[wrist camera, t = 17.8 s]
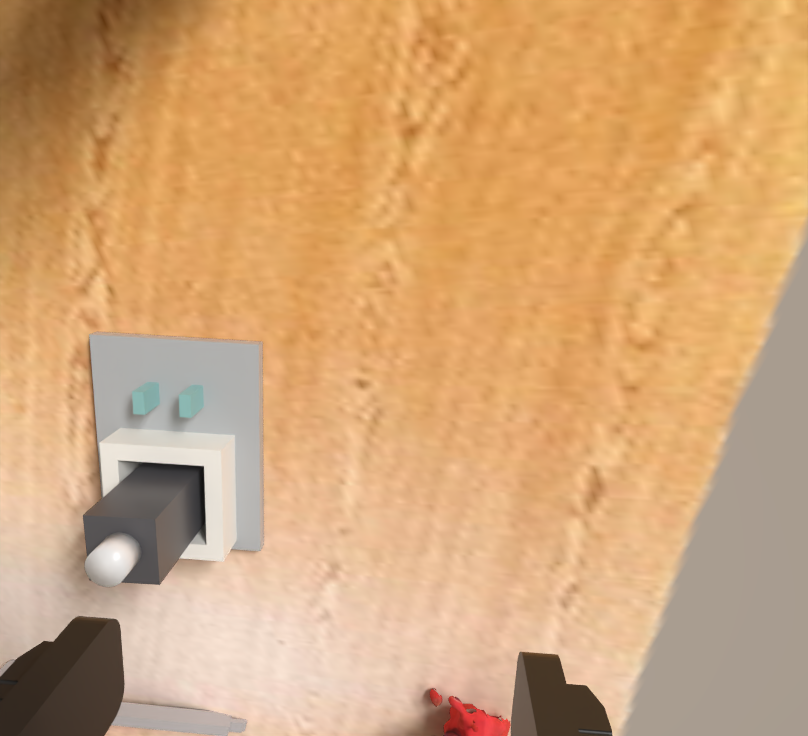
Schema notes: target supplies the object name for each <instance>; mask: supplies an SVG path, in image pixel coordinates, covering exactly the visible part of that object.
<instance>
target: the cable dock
mask: <svg viewBox="0 0 808 736" xmlns="http://www.w3.org/2000/svg"><path fill="white" fill-rule="evenodd" d="M89 338H90V351H91V364H92V377H93V390H94V403H95V416H96V429H97V442H98V455H99V468H100V482H101V495H102V498H103V497H104V496H105V495H107V494H108V493H109V492H110V491H111V490H112V489H113V488H115V487H116V486H117V485H118V484H119V483H120V482H121V481H123V480H124V479H125V478H126V477H127V476H128V475H129V474H131V473H132V472H133V471H134V470H135V469H136V468H137V467H139V466H140V465H141V464H142V463H143V462H151V463H165V464H180V465H195V466H204V481H205V512H206V522H205V524H204V525H203V526H202V528H201V529H200V530H199V532H198V533H197V535H196V536H195V537H194V539H193V540H192V541H191V543H190V544H189V545H188V547H187V548H186V550H185V551H184V552H183V554H182V555H181V556H180V558H182V559H196V560H209V561H223V562H224V560H225V559H226V557H227V555H228V554H229V552H230V550H231V549H237V550H250V551H261V549H262V547H263V545H264V485H263V345H262V342H261V341H244V340H227V339H210V338H194V337H177V336H160V335H143V334H127V333H110V332H95V333H92V334H89Z"/></svg>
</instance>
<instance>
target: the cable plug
mask: <svg viewBox="0 0 808 736" xmlns="http://www.w3.org/2000/svg"><path fill="white" fill-rule="evenodd" d="M83 521H84V530H85V540H86V550H87V558H86V561H85V571H86V573H87V575H88V577H89V580H92V581H93V582H94V583H96V584H98V585H100V586H103V587H113V586H116V585H118V584H120V583H121V582H125V583H141V584H157V585H160V584H161V582H162V581H163V580H164V578H165V577H166V576H167V574H168V573H169V571H170V570H171V569H172V567H173V566H174V565H175V563H176V562H177V561H178V559H179V558H180V556H181V555H182V554H183V552H184V551H185V550H186V548H187V547H188V545H189V544H190V543H191V541H192V540H193V539H194V537H195V536H196V535H197V533H198V532H199V530H200V529H201V528H202V526H203V525H204V524H205V522H206V512H205V481H204V466H195V465H180V464H165V463H151V462H143V463H142V464H141V465H140V466H139V467H137V468H136V469H135V470H134V471H133V472H132V473H131V474H129V475H128V476H127V477H126V478H125V479H124V480H123V481H121V482H120V483H119V484H118V485H117V486H116V487H115V488H113V489H112V490H111V491H110V492H109V493H108V494H107V495H105V496H104V497H103V498H102V499H101V500H100V501H99V502H97V503H96V504H95V505H94V506H93V507H92V508H91V509H89V510H88V511H87V512H86V513H85V514H84V515H83Z"/></svg>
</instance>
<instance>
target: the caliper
mask: <svg viewBox="0 0 808 736" xmlns="http://www.w3.org/2000/svg"><path fill="white" fill-rule="evenodd" d="M14 661H15V660H11V661H8V662H7V663H6V664H5V665H4V666H3V667H2V668H1V669H0V676H1V675H2V674H3V673H4V672H5V671H6V670H7V669H8V668H9V667H10V666H11V665H12V663H13V662H14ZM246 724H247V720H244V719H235V718H231V716H230V715H226V714H222V713H218V712H214V711H206V710H196V709H186V708H176V707H166V706H156V705H146V704H137V703H128V702H121V706H120V709H119V711H118V713H117V716H116V718H115V719H114V721H113V723H112V724H111V725H115V726H125V727H135V728H145V729H155V730H165V731H176V732H186V733H197V734H207V735H218V736H227V735H228V732H239V733H241V732H242V731H245V728H246Z"/></svg>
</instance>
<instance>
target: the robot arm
mask: <svg viewBox="0 0 808 736" xmlns="http://www.w3.org/2000/svg"><path fill="white" fill-rule="evenodd" d="M123 693H124V671H123V657H122V643H121V630H120V624H119V622H118V621H117V620H116V619H108V618H95V617H83V616H78V617H76V618H74V619H73V620H72V621H71V622H70V623H69V624H68V626H67V627H66V628H65V629H64V630H63V631H62V632H61V634H60V635H59V636H58V637H57V638H56V639H55V640H54V642H49V641H44V642H42V643H40V644H39V645H37V646H36V647H34V648H33V649H31V650H30V651H28V652H26V653H25V654H23V655H22V656H20V657H19V658H17V659H16V660H15V661H14V662H13V663H12V665H11V666H10V667H9V668H8V669H7V670H6V671H5V672H4V673H3V674H2V675H1V676H0V736H104V735H105V734H106V732H107V731H108V729H109V727H110V726H111V724H112V723H113V721H114V719H115V718H116V716H117V713H118V711H119V709H120V706H121V702H122V698H123ZM511 736H612V729H611V726H610V723H609V720H608V717H607V714H606V711H605V708H604V706H603V705H602V704H601V703H600V701H599V700H598V699H597V698H596V697H595V695H594V694H593V693H592V692H591V691H590V689H589V688H588V687H587V686H585V685H572V684H566V681H565V677H564V673H563V669H562V665H561V662H560V658H559V656H558V655H555V654H542V653H529V652H520V653H519V656H518V662H517V671H516V680H515V689H514V698H513V707H512V717H511Z"/></svg>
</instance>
